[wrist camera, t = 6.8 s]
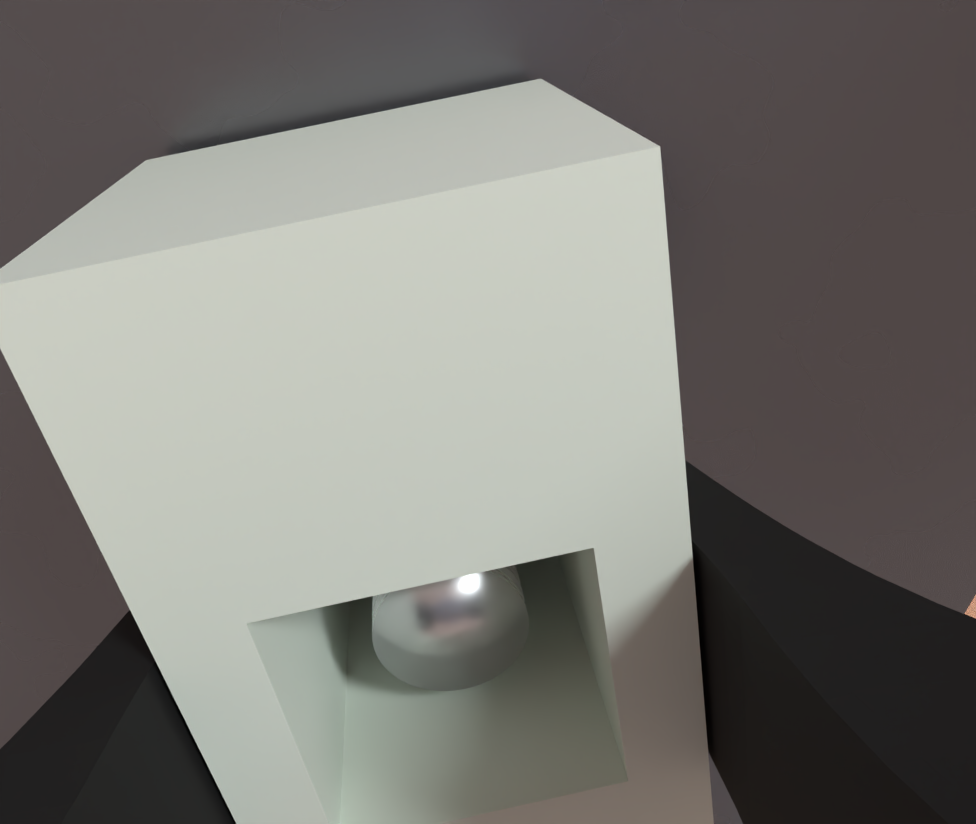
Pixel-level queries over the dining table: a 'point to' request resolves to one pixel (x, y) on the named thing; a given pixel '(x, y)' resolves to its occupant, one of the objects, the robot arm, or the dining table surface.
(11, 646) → the stand
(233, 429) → the block with square hole
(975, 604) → the dining table surface
